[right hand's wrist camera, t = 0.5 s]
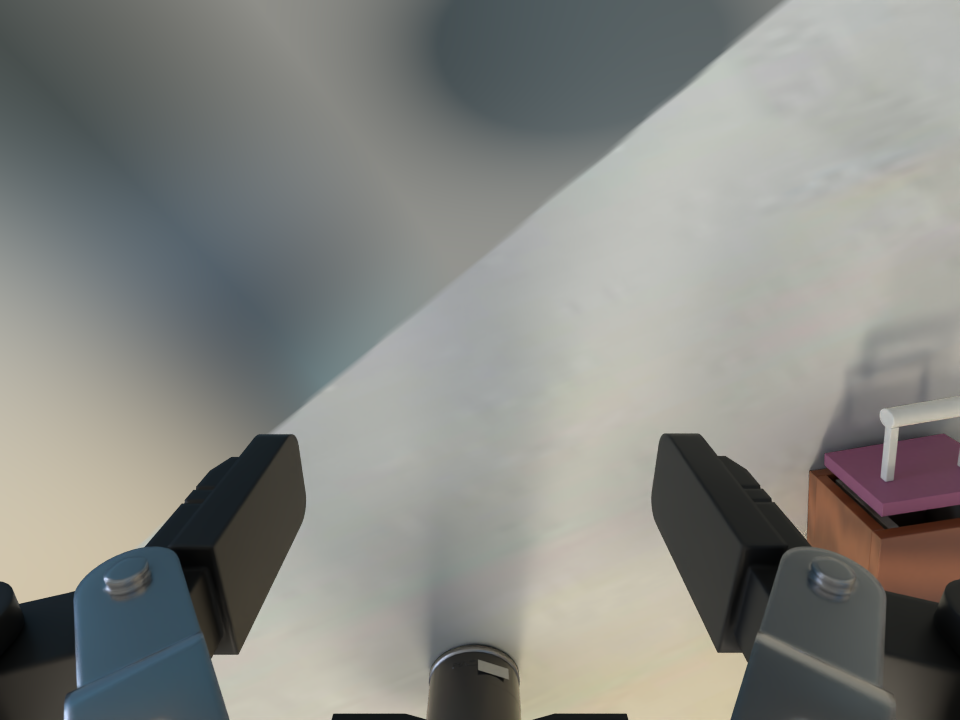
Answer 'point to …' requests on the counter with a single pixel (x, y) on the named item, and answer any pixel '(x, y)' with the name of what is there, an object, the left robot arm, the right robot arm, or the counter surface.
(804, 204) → the counter surface
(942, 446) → the drawer
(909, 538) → the cabinet
